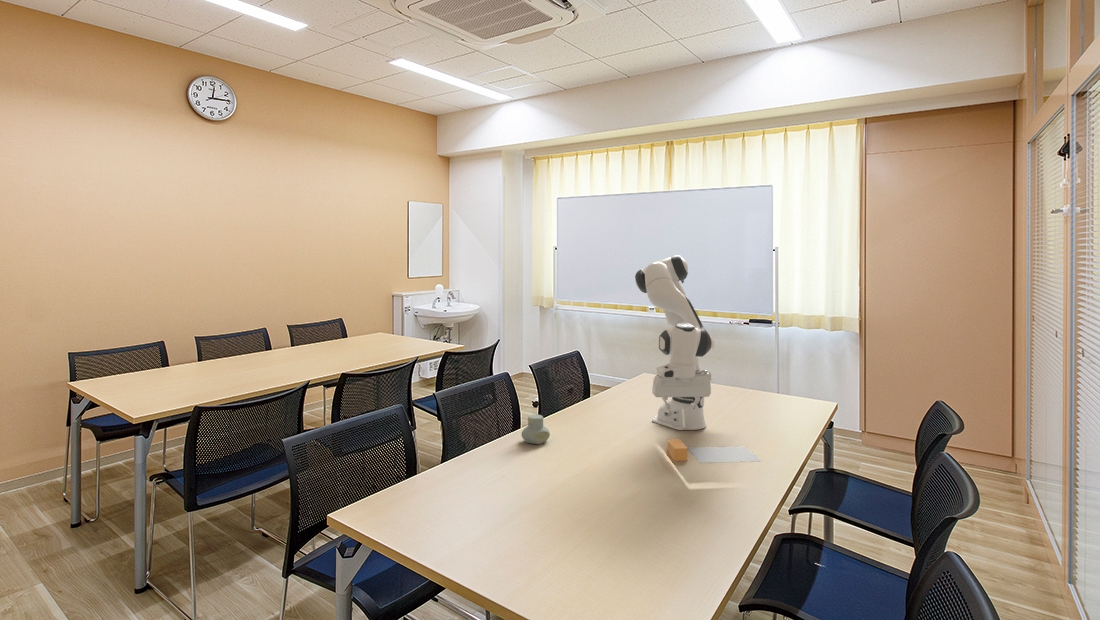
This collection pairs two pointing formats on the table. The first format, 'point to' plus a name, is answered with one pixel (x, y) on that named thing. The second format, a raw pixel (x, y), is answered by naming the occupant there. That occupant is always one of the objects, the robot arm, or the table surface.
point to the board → (723, 454)
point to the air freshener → (535, 430)
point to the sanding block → (676, 450)
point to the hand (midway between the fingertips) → (680, 408)
